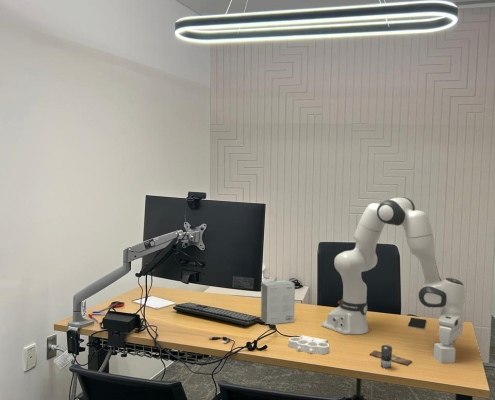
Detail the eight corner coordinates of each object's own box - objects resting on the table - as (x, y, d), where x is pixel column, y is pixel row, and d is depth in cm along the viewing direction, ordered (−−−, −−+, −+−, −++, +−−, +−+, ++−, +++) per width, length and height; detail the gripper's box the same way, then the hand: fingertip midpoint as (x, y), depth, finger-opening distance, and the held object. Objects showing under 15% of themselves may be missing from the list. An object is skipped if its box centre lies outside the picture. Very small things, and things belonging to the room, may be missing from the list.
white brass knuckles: (334, 346, 208) (324, 358, 195) (296, 339, 216) (284, 350, 203) (335, 339, 208) (324, 350, 195) (296, 332, 216) (284, 342, 203)
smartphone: (407, 326, 235) (410, 317, 249) (407, 328, 235) (410, 319, 249) (424, 328, 232) (426, 319, 245) (424, 331, 232) (426, 321, 246)
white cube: (433, 357, 198) (433, 343, 197) (446, 357, 198) (447, 343, 198) (441, 363, 192) (441, 348, 191) (454, 362, 192) (455, 348, 192)
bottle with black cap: (378, 366, 187) (379, 347, 186) (383, 363, 190) (384, 344, 189) (388, 369, 184) (389, 349, 184) (392, 366, 187) (393, 346, 187)
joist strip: (369, 355, 198) (369, 353, 198) (375, 351, 202) (375, 349, 202) (406, 366, 188) (406, 364, 188) (412, 361, 192) (412, 360, 192)
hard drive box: (288, 318, 245) (289, 280, 244) (294, 322, 238) (295, 283, 237) (260, 320, 240) (261, 281, 239) (265, 325, 233) (266, 285, 232)
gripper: (452, 310, 211) (450, 340, 212) (436, 320, 195) (435, 353, 196) (467, 313, 207) (465, 344, 208) (452, 324, 191) (451, 357, 192)
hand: (450, 349), depth 202 cm, fingers closed
